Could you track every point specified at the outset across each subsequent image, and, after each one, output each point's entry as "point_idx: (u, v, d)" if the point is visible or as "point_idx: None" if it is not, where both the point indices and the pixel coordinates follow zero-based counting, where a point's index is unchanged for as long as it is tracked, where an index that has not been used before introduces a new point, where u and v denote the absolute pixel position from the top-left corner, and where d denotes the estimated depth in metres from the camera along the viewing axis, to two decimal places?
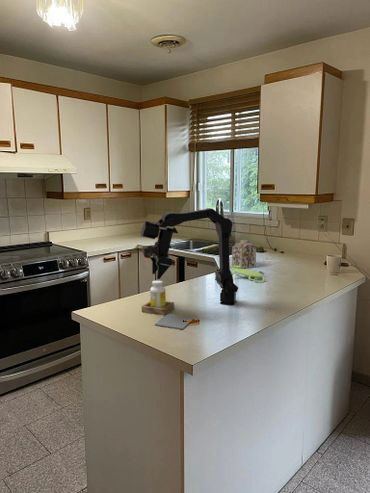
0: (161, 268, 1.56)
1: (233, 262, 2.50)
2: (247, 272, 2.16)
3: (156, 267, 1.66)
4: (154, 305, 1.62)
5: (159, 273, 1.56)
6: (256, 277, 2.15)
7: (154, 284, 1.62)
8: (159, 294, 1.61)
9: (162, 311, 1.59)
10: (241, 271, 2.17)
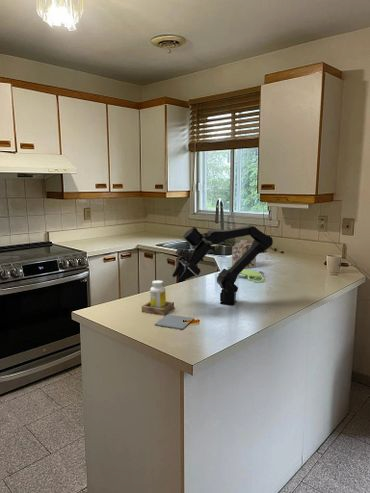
0: (186, 273, 1.60)
1: (233, 262, 2.50)
2: (246, 272, 2.17)
3: (178, 272, 1.70)
4: (154, 305, 1.62)
5: (182, 277, 1.60)
6: (255, 277, 2.16)
7: (154, 284, 1.62)
8: (159, 294, 1.61)
9: (162, 311, 1.59)
10: None
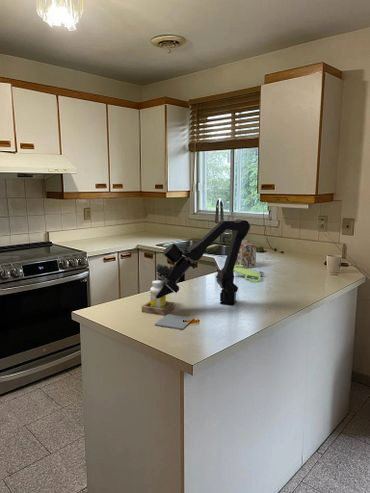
0: (164, 290, 1.60)
1: None
2: (244, 271, 2.18)
3: None
4: (154, 305, 1.62)
5: (160, 293, 1.60)
6: None
7: (154, 284, 1.62)
8: None
9: (162, 311, 1.59)
10: (239, 270, 2.20)
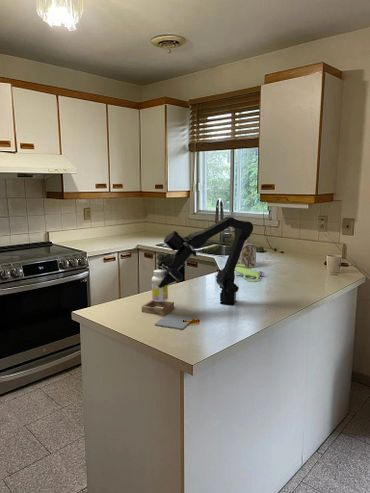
0: (167, 279, 1.56)
1: None
2: (243, 271, 2.19)
3: None
4: (156, 295, 1.58)
5: (163, 282, 1.56)
6: (252, 276, 2.17)
7: (156, 273, 1.57)
8: None
9: (162, 311, 1.59)
10: (238, 269, 2.21)
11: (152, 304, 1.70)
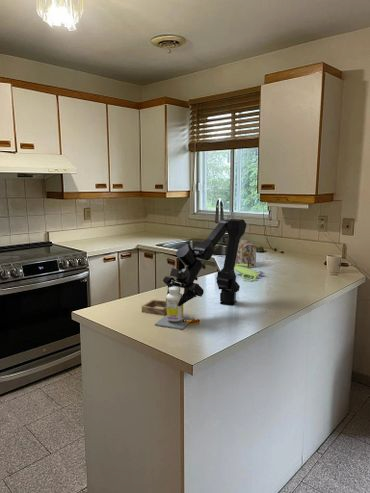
0: (186, 295, 1.47)
1: None
2: (243, 270, 2.21)
3: None
4: (175, 314, 1.47)
5: (183, 300, 1.46)
6: None
7: (174, 291, 1.46)
8: None
9: (162, 311, 1.59)
10: (238, 268, 2.24)
11: (152, 304, 1.70)
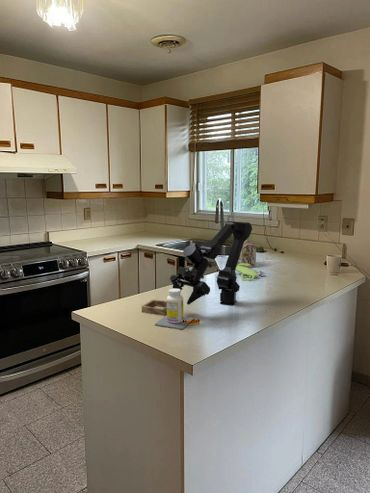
0: (195, 294, 1.49)
1: None
2: (242, 269, 2.22)
3: None
4: (175, 316, 1.47)
5: (192, 298, 1.48)
6: None
7: (174, 293, 1.46)
8: (181, 303, 1.47)
9: (162, 311, 1.59)
10: (238, 268, 2.25)
11: (152, 304, 1.70)
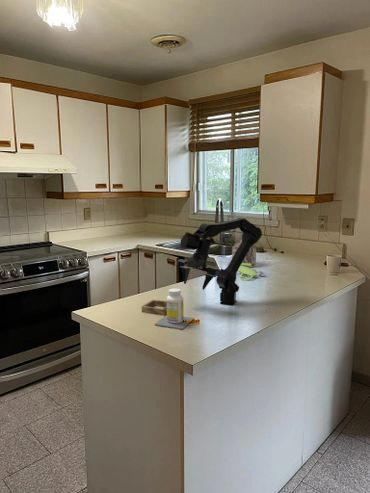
0: None
1: None
2: (242, 269, 2.23)
3: (187, 277, 1.67)
4: (175, 316, 1.47)
5: (206, 284, 1.61)
6: None
7: (174, 293, 1.46)
8: (181, 303, 1.47)
9: (162, 311, 1.59)
10: None
11: (152, 304, 1.70)
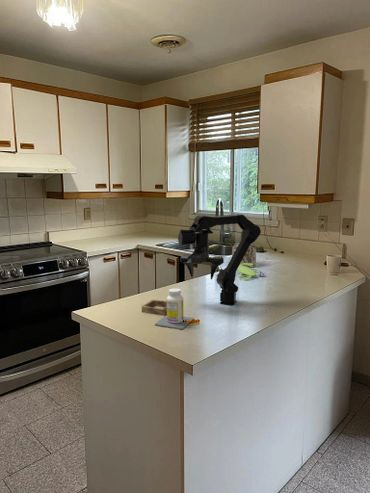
0: None
1: None
2: (242, 269, 2.24)
3: (192, 270, 1.70)
4: (175, 316, 1.47)
5: (213, 273, 1.65)
6: None
7: (174, 293, 1.46)
8: (181, 303, 1.47)
9: (162, 311, 1.59)
10: (238, 267, 2.27)
11: (152, 304, 1.70)
